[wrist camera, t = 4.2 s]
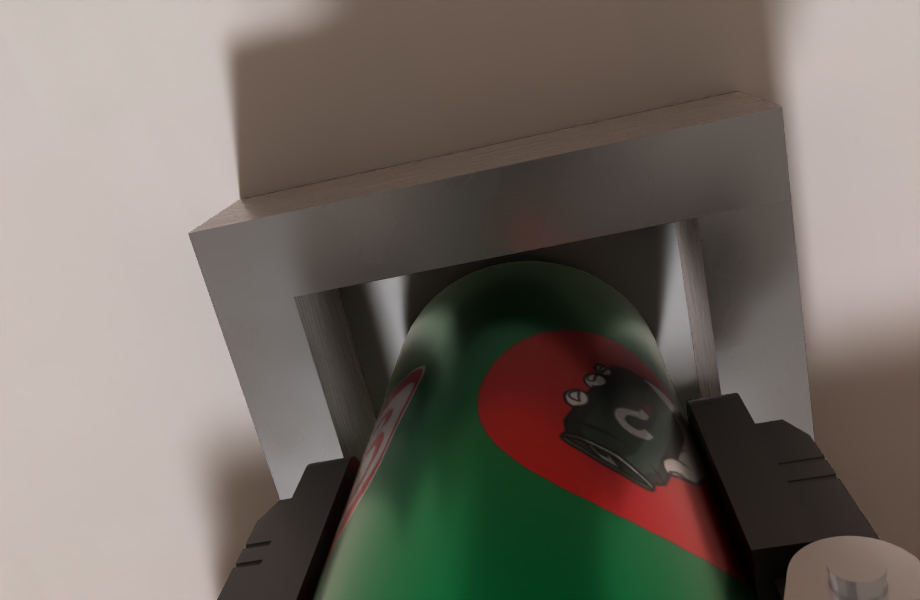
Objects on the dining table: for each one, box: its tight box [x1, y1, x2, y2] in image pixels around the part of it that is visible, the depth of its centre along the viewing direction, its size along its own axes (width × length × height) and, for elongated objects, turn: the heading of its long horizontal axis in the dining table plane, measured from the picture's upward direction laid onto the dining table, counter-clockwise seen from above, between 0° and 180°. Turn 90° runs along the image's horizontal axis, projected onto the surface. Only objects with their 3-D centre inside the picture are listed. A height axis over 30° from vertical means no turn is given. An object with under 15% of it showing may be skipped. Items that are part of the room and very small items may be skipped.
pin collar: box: [188, 91, 815, 500], centre depth 15 cm, size 9×9×2 cm
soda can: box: [313, 261, 758, 600], centre depth 10 cm, size 5×5×12 cm
